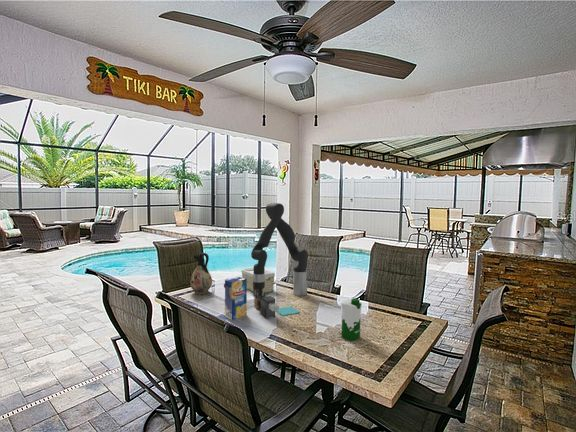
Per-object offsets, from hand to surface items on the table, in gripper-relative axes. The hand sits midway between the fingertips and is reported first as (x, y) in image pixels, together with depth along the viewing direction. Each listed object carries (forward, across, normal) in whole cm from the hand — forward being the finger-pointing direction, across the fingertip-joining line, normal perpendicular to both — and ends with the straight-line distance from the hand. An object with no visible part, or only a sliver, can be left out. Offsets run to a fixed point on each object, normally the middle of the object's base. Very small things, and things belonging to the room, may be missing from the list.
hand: (258, 306), depth 209 cm
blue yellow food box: (+1, -7, +18) cm, 19 cm away
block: (+1, 0, 0) cm, 1 cm away
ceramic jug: (+1, +47, +26) cm, 53 cm away
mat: (+1, -13, -14) cm, 19 cm away
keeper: (+1, -14, 0) cm, 15 cm away
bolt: (-5, -18, 0) cm, 19 cm away
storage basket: (+2, +38, -15) cm, 41 cm away
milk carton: (+1, -60, -26) cm, 66 cm away
